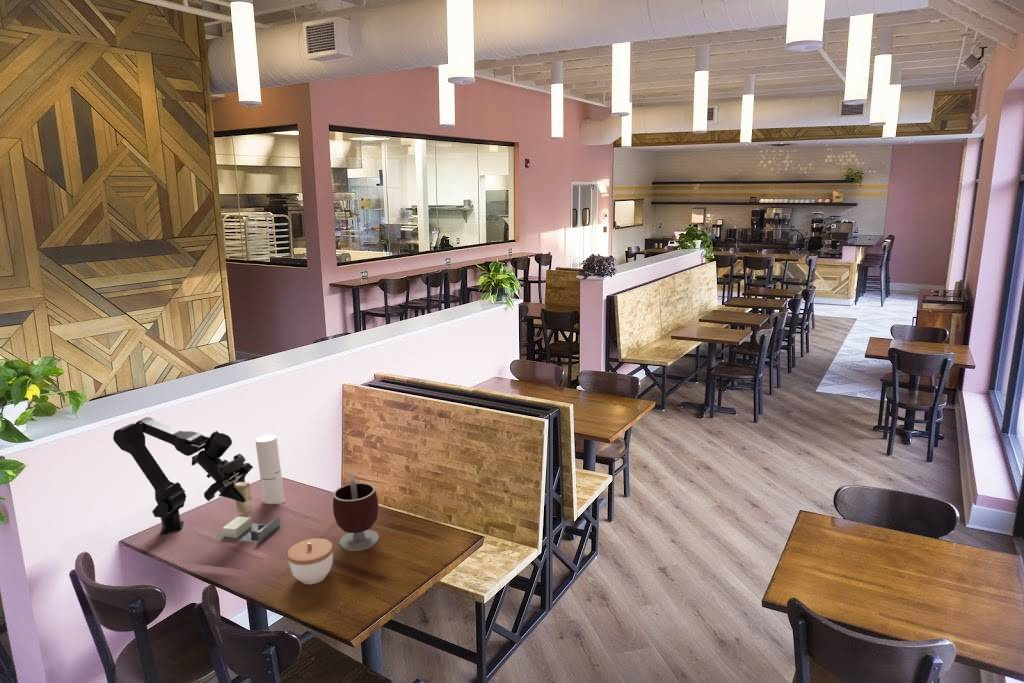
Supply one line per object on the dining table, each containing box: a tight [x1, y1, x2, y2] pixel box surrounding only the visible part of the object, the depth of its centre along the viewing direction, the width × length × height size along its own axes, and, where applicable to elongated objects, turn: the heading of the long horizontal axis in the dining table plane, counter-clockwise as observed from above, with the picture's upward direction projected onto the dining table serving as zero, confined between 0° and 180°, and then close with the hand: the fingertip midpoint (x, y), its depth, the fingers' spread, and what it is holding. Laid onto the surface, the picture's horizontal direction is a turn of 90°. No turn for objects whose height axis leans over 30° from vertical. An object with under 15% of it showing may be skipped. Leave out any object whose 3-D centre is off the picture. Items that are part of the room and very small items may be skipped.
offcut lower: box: [222, 521, 252, 538], centre depth 224 cm, size 5×8×2 cm, turn 165°
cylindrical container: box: [254, 434, 286, 505], centre depth 244 cm, size 7×7×25 cm
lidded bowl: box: [286, 537, 334, 585], centre depth 197 cm, size 13×13×11 cm
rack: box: [214, 516, 283, 544], centre depth 223 cm, size 18×11×5 cm, turn 75°
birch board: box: [234, 481, 254, 518], centre depth 221 cm, size 4×2×11 cm, turn 75°
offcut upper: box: [222, 515, 252, 534], centre depth 224 cm, size 5×8×2 cm, turn 165°
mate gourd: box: [332, 472, 380, 552], centre depth 216 cm, size 16×14×20 cm
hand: (247, 499), depth 220 cm, fingers closed on birch board, 2 cm apart
